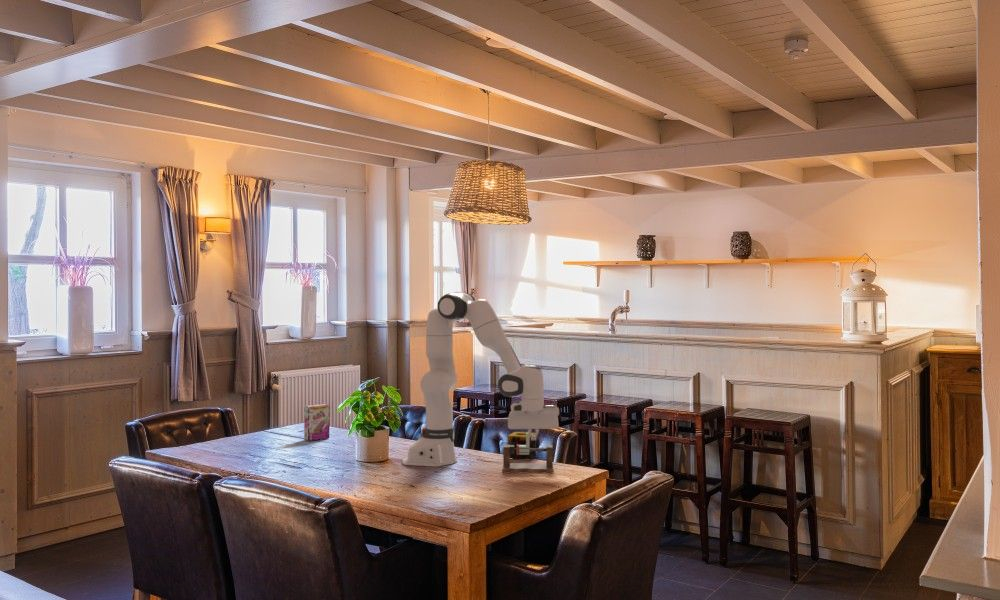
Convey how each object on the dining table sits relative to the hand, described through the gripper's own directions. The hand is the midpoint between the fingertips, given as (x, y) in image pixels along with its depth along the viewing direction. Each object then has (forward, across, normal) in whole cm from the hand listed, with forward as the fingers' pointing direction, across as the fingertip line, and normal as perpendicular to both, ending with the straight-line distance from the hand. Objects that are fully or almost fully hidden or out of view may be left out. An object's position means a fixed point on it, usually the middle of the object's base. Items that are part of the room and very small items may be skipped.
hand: (533, 440), depth 317 cm
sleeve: (+5, +4, 0) cm, 7 cm away
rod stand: (+12, +2, 0) cm, 12 cm away
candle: (+12, +5, -23) cm, 27 cm away
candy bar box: (+10, +104, -59) cm, 120 cm away
